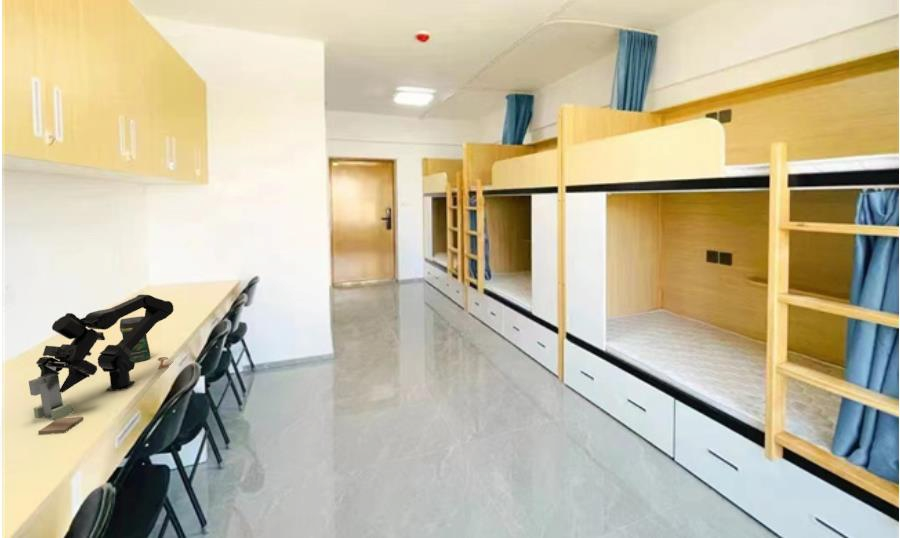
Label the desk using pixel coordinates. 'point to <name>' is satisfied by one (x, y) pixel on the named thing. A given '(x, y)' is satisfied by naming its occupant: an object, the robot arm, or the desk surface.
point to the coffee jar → (142, 348)
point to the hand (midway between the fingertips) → (49, 390)
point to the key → (162, 363)
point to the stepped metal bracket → (47, 392)
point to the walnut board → (60, 425)
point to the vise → (55, 411)
